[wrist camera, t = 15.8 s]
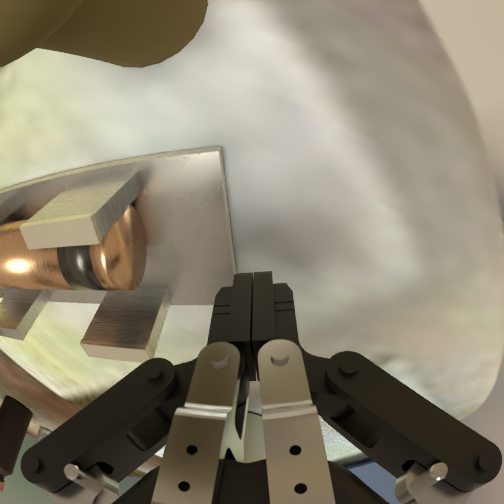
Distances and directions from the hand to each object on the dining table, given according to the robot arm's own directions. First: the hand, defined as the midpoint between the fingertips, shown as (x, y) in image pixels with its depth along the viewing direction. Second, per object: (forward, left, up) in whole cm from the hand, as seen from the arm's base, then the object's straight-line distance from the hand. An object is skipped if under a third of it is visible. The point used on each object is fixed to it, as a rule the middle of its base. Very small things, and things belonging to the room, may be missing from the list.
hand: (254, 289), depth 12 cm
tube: (+2, +14, -4) cm, 14 cm away
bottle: (-35, +48, -5) cm, 60 cm away
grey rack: (0, +12, -5) cm, 13 cm away
